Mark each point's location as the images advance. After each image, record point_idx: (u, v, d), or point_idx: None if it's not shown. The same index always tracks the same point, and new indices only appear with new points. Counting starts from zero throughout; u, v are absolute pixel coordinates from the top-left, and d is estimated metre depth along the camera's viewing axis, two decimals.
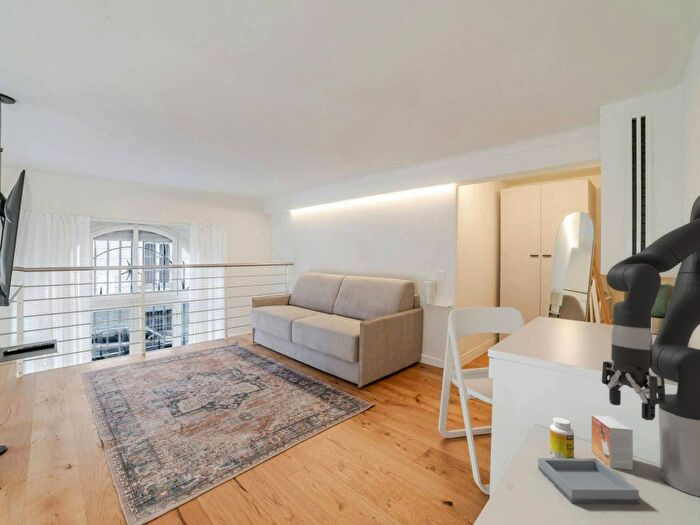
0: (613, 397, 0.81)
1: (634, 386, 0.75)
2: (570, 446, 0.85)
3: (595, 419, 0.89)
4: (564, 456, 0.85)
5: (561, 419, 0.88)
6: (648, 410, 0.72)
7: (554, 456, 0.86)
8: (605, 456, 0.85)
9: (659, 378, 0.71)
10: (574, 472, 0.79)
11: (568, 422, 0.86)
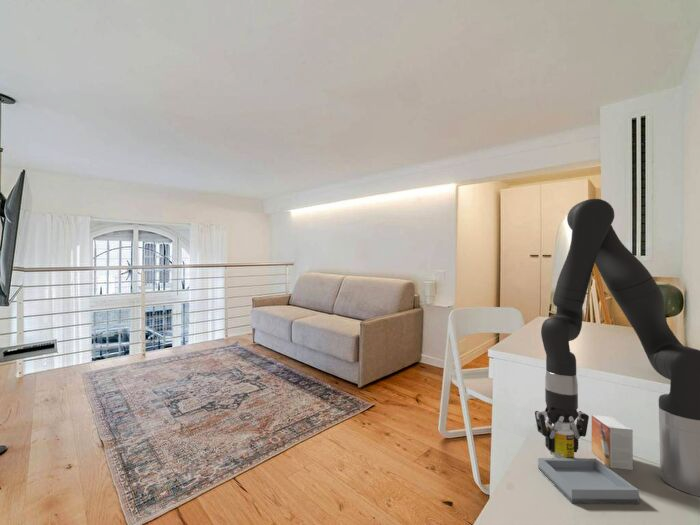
0: None
1: (573, 426, 0.86)
2: (570, 446, 0.85)
3: (595, 419, 0.89)
4: (564, 456, 0.85)
5: None
6: (577, 443, 0.87)
7: (554, 456, 0.86)
8: (605, 456, 0.85)
9: None
10: (574, 472, 0.79)
11: (568, 422, 0.86)
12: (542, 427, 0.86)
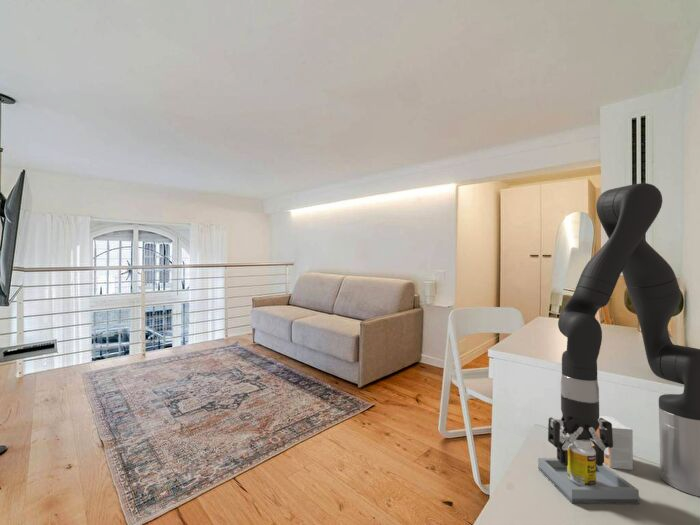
0: None
1: (596, 438, 0.74)
2: (592, 468, 0.73)
3: None
4: (584, 480, 0.73)
5: None
6: (603, 455, 0.75)
7: (573, 479, 0.75)
8: (605, 456, 0.85)
9: None
10: None
11: (589, 440, 0.75)
12: (555, 436, 0.75)
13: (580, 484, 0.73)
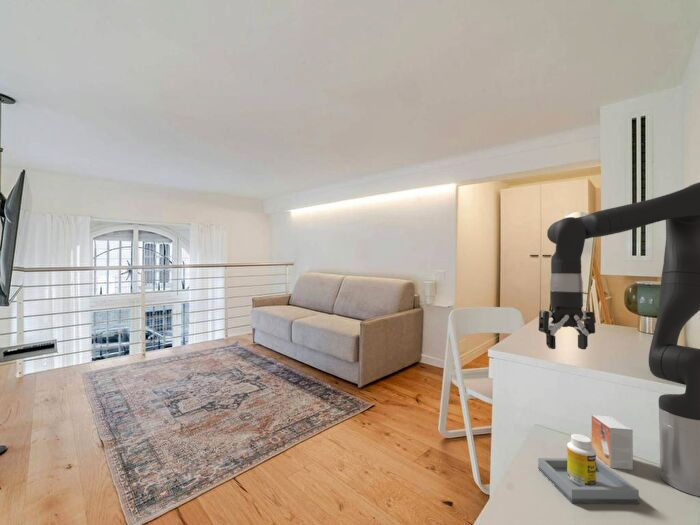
0: None
1: (580, 324, 0.86)
2: (592, 468, 0.73)
3: (595, 419, 0.89)
4: (584, 480, 0.73)
5: (580, 436, 0.77)
6: (586, 340, 0.87)
7: (573, 479, 0.75)
8: (605, 456, 0.85)
9: None
10: None
11: (589, 440, 0.75)
12: (544, 323, 0.86)
13: (580, 484, 0.73)
